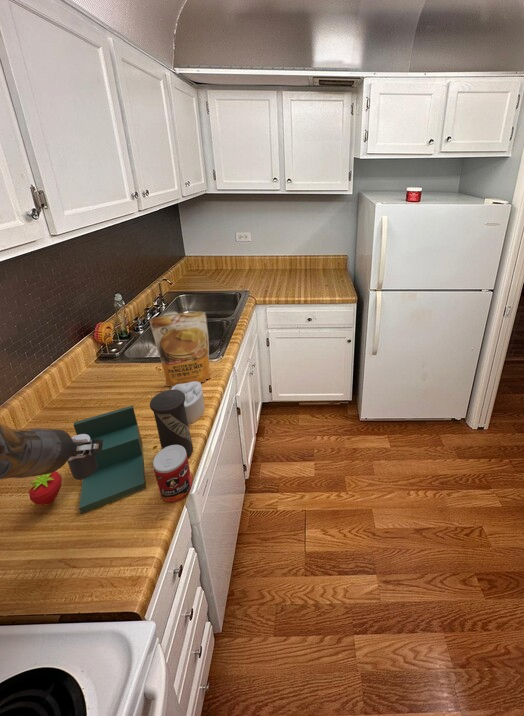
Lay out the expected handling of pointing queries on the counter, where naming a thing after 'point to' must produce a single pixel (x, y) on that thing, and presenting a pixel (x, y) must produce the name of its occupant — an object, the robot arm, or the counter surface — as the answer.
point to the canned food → (172, 473)
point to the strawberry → (45, 488)
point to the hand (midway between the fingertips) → (84, 449)
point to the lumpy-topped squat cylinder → (192, 400)
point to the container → (172, 419)
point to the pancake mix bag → (182, 346)
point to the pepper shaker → (83, 462)
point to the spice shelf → (113, 458)
